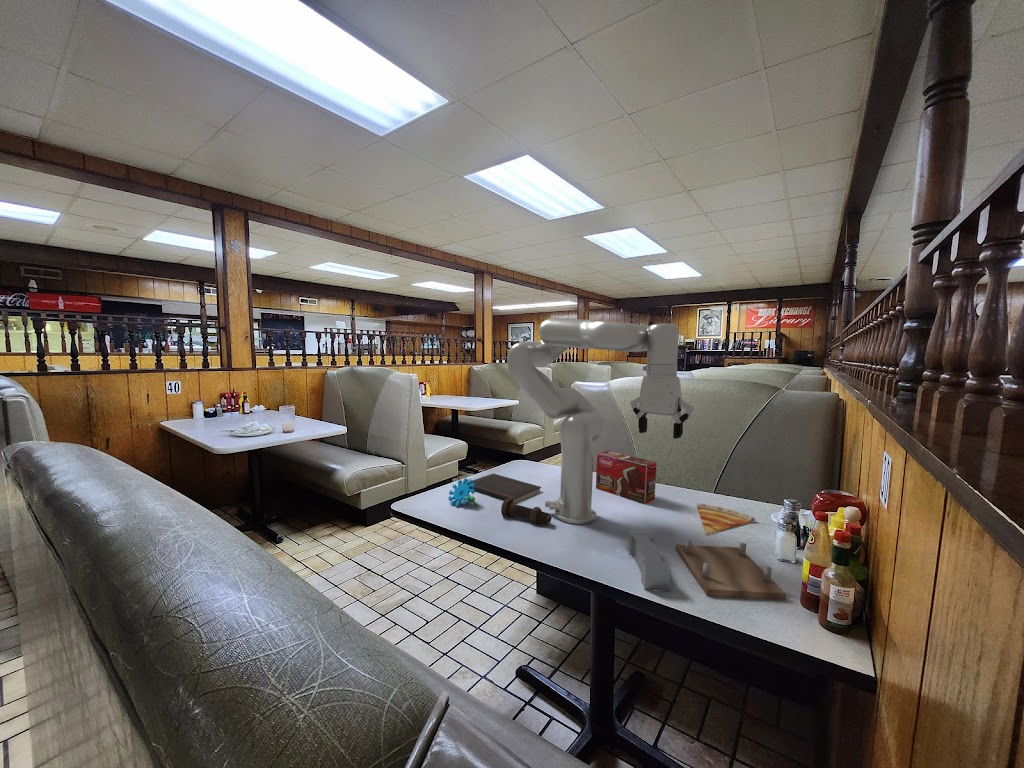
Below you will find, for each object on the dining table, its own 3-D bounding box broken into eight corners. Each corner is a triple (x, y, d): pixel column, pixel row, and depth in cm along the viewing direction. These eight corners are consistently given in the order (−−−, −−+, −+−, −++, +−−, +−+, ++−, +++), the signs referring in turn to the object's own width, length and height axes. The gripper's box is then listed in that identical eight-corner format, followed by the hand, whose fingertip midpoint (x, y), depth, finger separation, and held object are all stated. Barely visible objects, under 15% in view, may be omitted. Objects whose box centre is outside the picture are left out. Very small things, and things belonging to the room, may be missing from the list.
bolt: (548, 532, 120) (503, 519, 127) (554, 519, 124) (510, 507, 131) (544, 519, 117) (499, 506, 124) (551, 506, 121) (506, 494, 128)
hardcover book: (493, 479, 163) (493, 473, 163) (541, 493, 149) (541, 486, 149) (463, 489, 151) (463, 483, 151) (512, 505, 136) (513, 499, 136)
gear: (441, 496, 137) (461, 472, 141) (451, 505, 141) (471, 481, 144) (460, 511, 129) (480, 485, 132) (470, 520, 133) (490, 495, 136)
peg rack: (706, 595, 88) (708, 575, 87) (675, 549, 108) (676, 533, 107) (785, 600, 87) (787, 579, 86) (739, 553, 107) (740, 536, 106)
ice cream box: (595, 488, 153) (597, 453, 152) (606, 485, 158) (607, 450, 156) (644, 504, 138) (646, 465, 137) (654, 500, 143) (656, 462, 141)
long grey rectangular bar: (644, 590, 89) (645, 567, 89) (626, 549, 107) (627, 530, 107) (669, 591, 89) (670, 569, 89) (647, 550, 107) (648, 531, 107)
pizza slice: (662, 516, 130) (662, 510, 130) (709, 505, 140) (710, 499, 140) (705, 537, 116) (706, 530, 116) (755, 523, 127) (755, 516, 126)
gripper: (625, 370, 113) (623, 432, 115) (688, 372, 101) (685, 442, 102) (639, 369, 119) (637, 428, 120) (700, 371, 106) (698, 438, 107)
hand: (659, 435), depth 111 cm, fingers open, 9 cm apart
